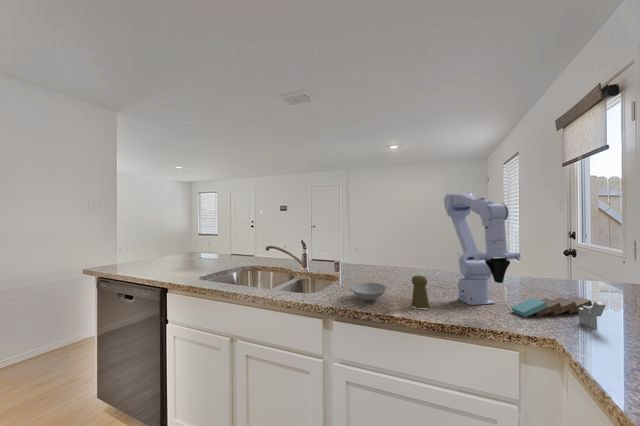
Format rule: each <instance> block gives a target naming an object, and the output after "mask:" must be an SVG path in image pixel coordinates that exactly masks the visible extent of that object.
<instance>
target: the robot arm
mask: <svg viewBox="0 0 640 426" xmlns="http://www.w3.org/2000/svg"><path fill="white" fill-rule="evenodd" d="M443 201H444V202H443V204H444V209H445V211H446V214H447V216H448V217H450V218H451V221H452V223H453V227H454V229H455V233H456V235H457V237H458V240H459V244H460V246H461V249H462V253H463V254H461V255H460V257H459V259H458V263H459V271H460V273H461V275H462V276H463V277H461V278H459V280H458V284H457V285H458V287H457V288H458V297H457V300H460V301H461V302H463V303H465V304H467V305H469V306H474V305H486V304H487V305H491V304H495V303H496V302H495V301H492V300H490V299H489V279H491V278H490V277H491V276H492V277H493V280H494V283H498V284H500V283H501V284H503V283H504V281H505V275H506V272H507V270H508V267H509V266H510V264H511V260H521V252H519V253H518V252H508V246H507V244H508V243H507V233H506V232H507V231H506V220H508V217H509V212H510V211H509V208H508V206H507V205H506V204H505V203H503V202H501V203H495V202H494V201H493V200H488V199H486V197H485V196H480V197H474V195H473V193H470V192H466V193H447V194H445V196H444V198H443ZM471 211H472V212H473V213H475V214H477V215H479V217H480V219H481V223H482V226H483V227H484V236H485V237H484V239H485V250H486V251H485V253H484V252H482V251H480V250H479V249H478V247H477V243H476V242H475V239H474V237H473V236H474V235H473V233H472V231H471V228H470V226H469V223H468V221H467V218H466V217H468V216H469V215H470V214H471Z"/></svg>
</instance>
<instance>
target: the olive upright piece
mask: <svg viewBox="0 0 640 426" xmlns="http://www.w3.org/2000/svg"><path fill="white" fill-rule="evenodd" d="M411 283H412V286H413V288H412V296H411V297H412V300H411V307H412V306H414V307H416V308H428V309H430V302H429V297H428V292H427V286H426V285H427V284H428V279H427V277H426V276H423V275H414V276H413V277H412V278H411Z"/></svg>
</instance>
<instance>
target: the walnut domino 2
mask: <svg viewBox="0 0 640 426" xmlns="http://www.w3.org/2000/svg"><path fill="white" fill-rule="evenodd" d="M568 299H569V298H564V297H561V296H559V297H556V298H554V299H552V300H553V301H556V302H559V303H560V305H561V308H559V309H557V310H554V311H552V312H549V313H547V314H549V315H550V316H554V317H556V316H558V315H560V314H563V313H565V311H567V310H569V309H572V308H574V307H576V304H575V301H571V300H568Z"/></svg>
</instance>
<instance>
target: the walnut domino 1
mask: <svg viewBox="0 0 640 426" xmlns="http://www.w3.org/2000/svg"><path fill="white" fill-rule="evenodd" d="M539 300H540V301H543V302H546V304H547V308H544V309H542V310H540V311H538V312H536V313H534V314H532V315H534V316H536V317H541V316H544V315H546V314H548V313H549V312H552V311H554V310H557V309H559V308H561V305H560V303H559V302H556V301H553V300H554V299H549V298H546V297H545V298H542V299H539Z"/></svg>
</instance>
